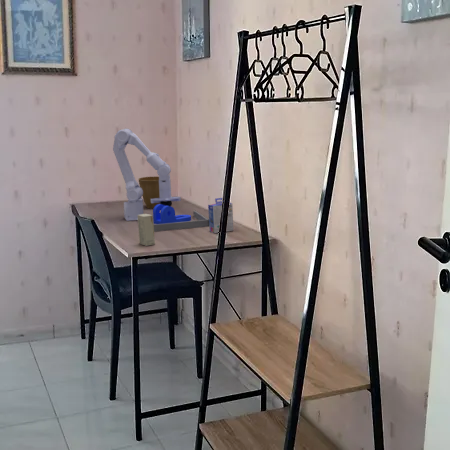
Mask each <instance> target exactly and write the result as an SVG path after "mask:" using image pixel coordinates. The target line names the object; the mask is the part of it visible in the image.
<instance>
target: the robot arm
mask: <svg viewBox="0 0 450 450" xmlns="http://www.w3.org/2000/svg"><path fill="white" fill-rule="evenodd" d="M113 138H114V141H113V147H112V151H113V153H114V156H115V160H116V162H117V164H118V168H119V169H120V172H121V175H122V177H123V180H124V184H125V191H126V198H127V201H123V215H124V218H123V219H125V221H126V222H128V221H138V215H140V214H145V213H144V199H143V196H142V195H143V190H142V188H141V187H140V185H139V181H138V180H136V177H135V175H134V172H133V170H132V166H131V165H130V162H129V159H128V157H127V156H128V155H127V154H126V151H125V149H126V147H127V145H128V144H129V145H132V146H135V147H136V148H137V149H138V150H139V151H140V152H141V153H142V154H143V155H144V156H145V157H146V160H145V161H147V163H148V164H149V165H150V166H151V167H152V168H153V169H154V170H155V171H156V173H157V176H158V177H159V194H160V198H154V199H151V203H159V202H160V204H162V205H165V206H171V207H172V205H173V203H172V202H181V201H182V200H181V199H182V198H181V196H172V184H171V182H172V181H171V180H172V179H171V172H172V168H171V166H170V164H168V163H167V162H166V161H164V160H163V159H162V158H161V157H160V154H159V153H157V152H152V151H151V150H150V149H149V148H148V147H147V146H146V145H145V143H144V142H143V141H142V139H140V137H139V136H138V135H137V134H136V133H135V132H133V131H132V130H131V129H130V128H126V127H125V128H122V129H120V130H117V132H116V133H115V135H114V137H113Z"/></svg>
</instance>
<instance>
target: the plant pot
mask: <svg viewBox="0 0 450 450" xmlns="http://www.w3.org/2000/svg"><path fill="white" fill-rule="evenodd" d="M137 181H138V184H139V186H140V187H141V188H142V190H143V195H142V199H143V203H144V204H145V207H146V209H149V210H153V209H154V207H155V206H156V205H158V204H160V202H159V203H151V199H154V198H160V194H159V176H143V177H139V178H138V180H137Z"/></svg>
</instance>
